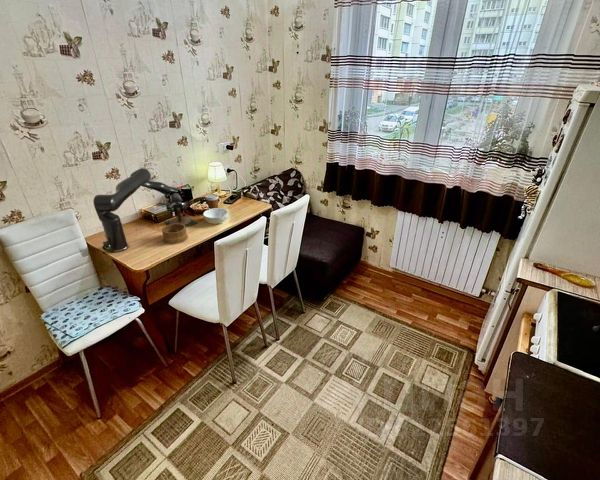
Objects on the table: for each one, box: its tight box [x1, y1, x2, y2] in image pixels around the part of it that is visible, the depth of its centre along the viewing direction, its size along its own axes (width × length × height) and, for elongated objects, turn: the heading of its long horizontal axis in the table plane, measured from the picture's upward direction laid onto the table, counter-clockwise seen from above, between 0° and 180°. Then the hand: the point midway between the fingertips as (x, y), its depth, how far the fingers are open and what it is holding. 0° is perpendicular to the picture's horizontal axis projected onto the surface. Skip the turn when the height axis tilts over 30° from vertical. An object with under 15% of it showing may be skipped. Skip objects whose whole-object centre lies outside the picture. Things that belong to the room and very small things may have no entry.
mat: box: [164, 215, 198, 228], centre depth 212 cm, size 16×16×1 cm
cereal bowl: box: [202, 207, 229, 225], centre depth 214 cm, size 17×17×7 cm
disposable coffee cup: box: [205, 193, 220, 209], centre depth 230 cm, size 10×10×12 cm
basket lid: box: [169, 208, 193, 225], centre depth 210 cm, size 15×15×10 cm
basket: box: [161, 223, 188, 245], centre depth 191 cm, size 14×14×8 cm
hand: (178, 209), depth 206 cm, fingers open, 8 cm apart
